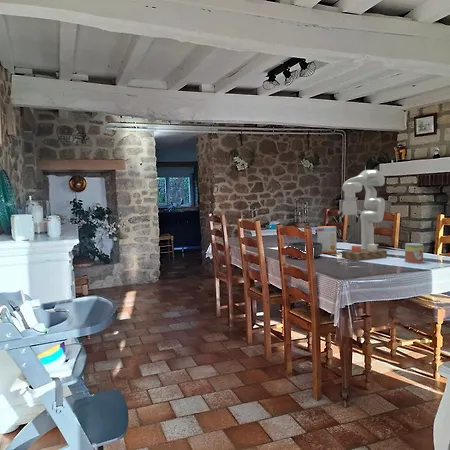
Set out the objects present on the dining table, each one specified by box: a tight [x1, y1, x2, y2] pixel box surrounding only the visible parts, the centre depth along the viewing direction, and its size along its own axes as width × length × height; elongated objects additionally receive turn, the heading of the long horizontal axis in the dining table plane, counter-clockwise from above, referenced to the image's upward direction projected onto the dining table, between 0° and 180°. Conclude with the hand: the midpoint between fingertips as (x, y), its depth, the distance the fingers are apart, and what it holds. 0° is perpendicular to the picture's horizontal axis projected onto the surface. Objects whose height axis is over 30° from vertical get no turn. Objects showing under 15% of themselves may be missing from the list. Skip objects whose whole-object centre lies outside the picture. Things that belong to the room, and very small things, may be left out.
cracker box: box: [316, 225, 338, 255], centre depth 322 cm, size 14×6×21 cm, turn 84°
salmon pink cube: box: [351, 244, 361, 252], centre depth 296 cm, size 4×4×4 cm
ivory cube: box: [368, 243, 378, 251], centre depth 301 cm, size 4×4×4 cm
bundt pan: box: [286, 241, 323, 258], centre depth 310 cm, size 26×26×10 cm
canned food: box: [404, 242, 424, 264], centre depth 279 cm, size 11×11×12 cm
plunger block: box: [341, 248, 388, 262], centre depth 299 cm, size 28×14×5 cm, turn 111°
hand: (349, 222), depth 307 cm, fingers open, 9 cm apart
